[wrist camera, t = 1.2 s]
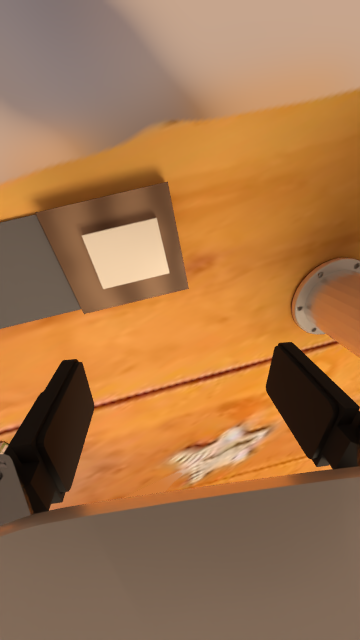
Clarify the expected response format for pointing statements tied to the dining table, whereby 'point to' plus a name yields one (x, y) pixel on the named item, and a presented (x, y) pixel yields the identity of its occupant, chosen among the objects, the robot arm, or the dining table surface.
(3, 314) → the mat
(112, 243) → the tile
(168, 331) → the dining table surface
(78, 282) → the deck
